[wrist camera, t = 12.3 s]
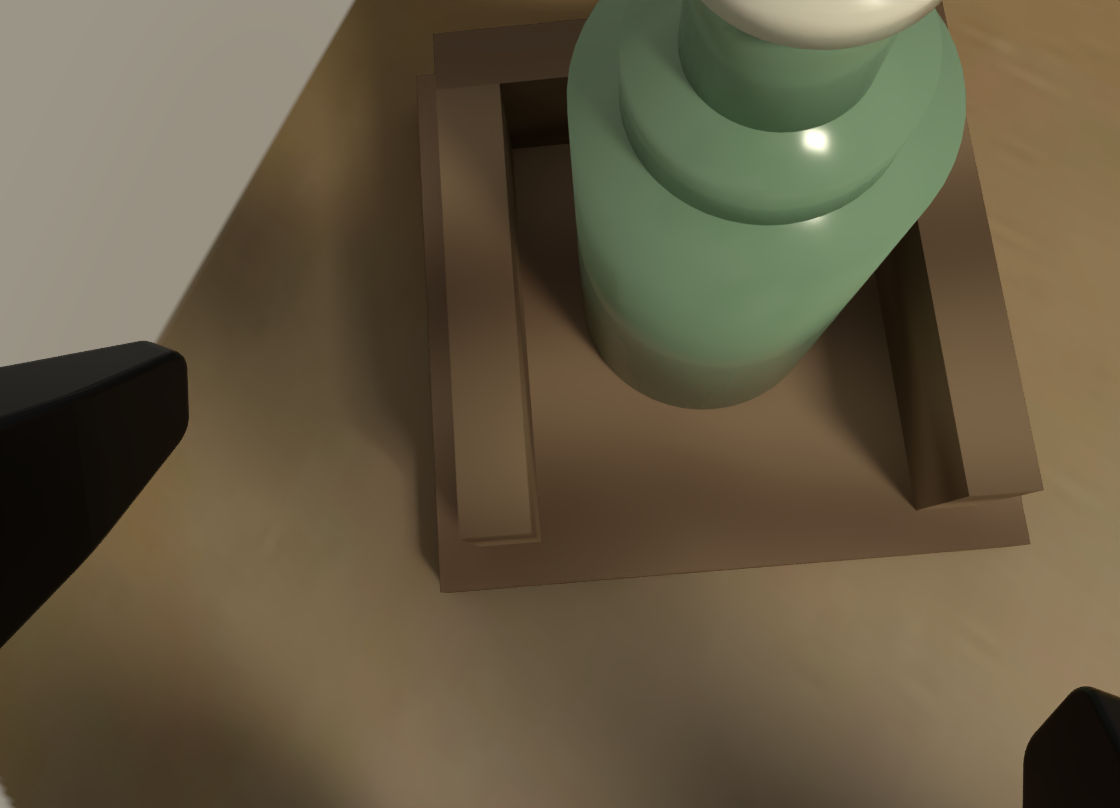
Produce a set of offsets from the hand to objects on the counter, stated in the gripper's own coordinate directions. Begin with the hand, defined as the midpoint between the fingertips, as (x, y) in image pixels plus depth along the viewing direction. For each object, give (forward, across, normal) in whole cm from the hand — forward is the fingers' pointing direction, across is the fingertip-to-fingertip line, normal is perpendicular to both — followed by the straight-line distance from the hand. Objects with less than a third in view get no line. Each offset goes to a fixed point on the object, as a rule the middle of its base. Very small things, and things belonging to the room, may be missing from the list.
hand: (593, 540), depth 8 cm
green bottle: (+14, 0, +4) cm, 14 cm away
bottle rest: (+15, 0, +4) cm, 16 cm away
